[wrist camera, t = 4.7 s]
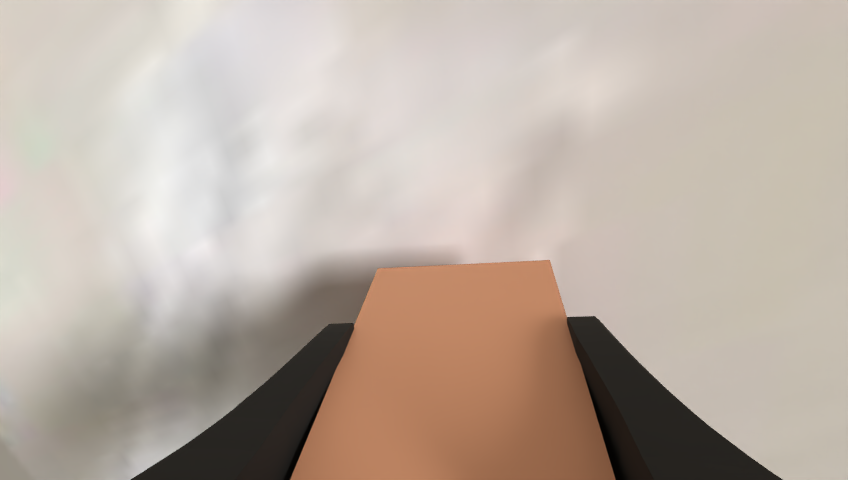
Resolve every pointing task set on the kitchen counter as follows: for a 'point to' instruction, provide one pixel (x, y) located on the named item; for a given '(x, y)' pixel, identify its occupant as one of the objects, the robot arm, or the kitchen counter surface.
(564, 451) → the end domino
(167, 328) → the kitchen counter surface
